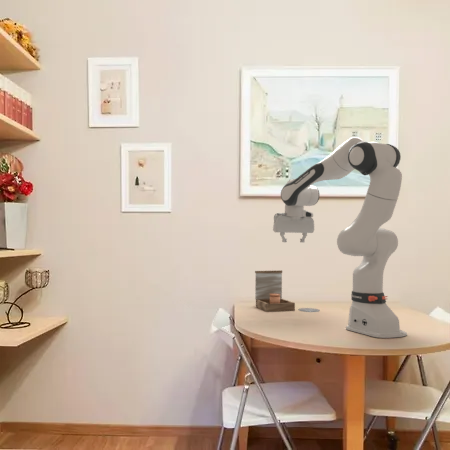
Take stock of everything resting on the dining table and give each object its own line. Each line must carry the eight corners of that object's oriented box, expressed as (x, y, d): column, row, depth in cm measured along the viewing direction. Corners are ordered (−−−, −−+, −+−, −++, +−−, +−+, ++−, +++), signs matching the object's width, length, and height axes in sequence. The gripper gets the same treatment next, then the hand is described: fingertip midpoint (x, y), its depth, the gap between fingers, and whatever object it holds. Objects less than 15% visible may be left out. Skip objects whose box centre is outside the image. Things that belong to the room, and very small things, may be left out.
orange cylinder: (281, 309, 197) (282, 294, 197) (272, 309, 195) (272, 294, 195) (277, 307, 201) (277, 293, 202) (267, 307, 200) (267, 293, 200)
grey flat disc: (324, 312, 192) (324, 311, 192) (304, 313, 189) (304, 312, 189) (312, 308, 201) (312, 307, 201) (294, 309, 198) (294, 308, 198)
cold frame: (295, 311, 194) (295, 273, 194) (266, 312, 189) (267, 273, 190) (281, 306, 208) (281, 270, 208) (254, 307, 203) (255, 270, 204)
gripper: (276, 212, 190) (276, 242, 190) (316, 213, 196) (315, 242, 196) (271, 212, 196) (270, 241, 196) (309, 213, 202) (309, 242, 202)
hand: (293, 242), depth 196 cm, fingers open, 8 cm apart
